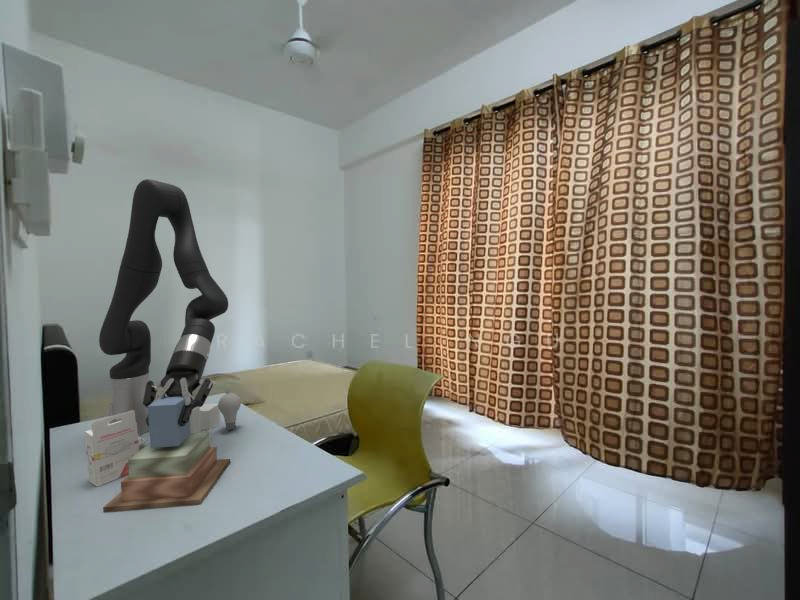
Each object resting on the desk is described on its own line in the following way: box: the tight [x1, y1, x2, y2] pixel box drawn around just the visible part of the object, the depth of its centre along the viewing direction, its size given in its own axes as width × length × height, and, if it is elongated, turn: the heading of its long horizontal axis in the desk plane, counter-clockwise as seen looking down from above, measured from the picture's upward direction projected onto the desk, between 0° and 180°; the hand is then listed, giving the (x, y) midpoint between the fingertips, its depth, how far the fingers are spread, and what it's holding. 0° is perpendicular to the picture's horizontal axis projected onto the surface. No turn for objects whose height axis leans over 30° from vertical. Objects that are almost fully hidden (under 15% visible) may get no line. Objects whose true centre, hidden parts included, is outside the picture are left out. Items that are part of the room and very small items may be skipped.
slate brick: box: [148, 396, 191, 448], centre depth 76 cm, size 6×6×9 cm
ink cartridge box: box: [84, 410, 140, 487], centre depth 81 cm, size 9×5×15 cm, turn 148°
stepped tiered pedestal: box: [102, 431, 231, 513], centre depth 77 cm, size 18×16×9 cm
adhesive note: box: [200, 403, 221, 431], centre depth 108 cm, size 6×6×6 cm
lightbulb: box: [217, 392, 242, 431], centre depth 105 cm, size 6×6×11 cm
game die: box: [138, 436, 146, 450], centre depth 94 cm, size 4×4×3 cm
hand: (166, 425), depth 75 cm, fingers closed on slate brick, 5 cm apart
